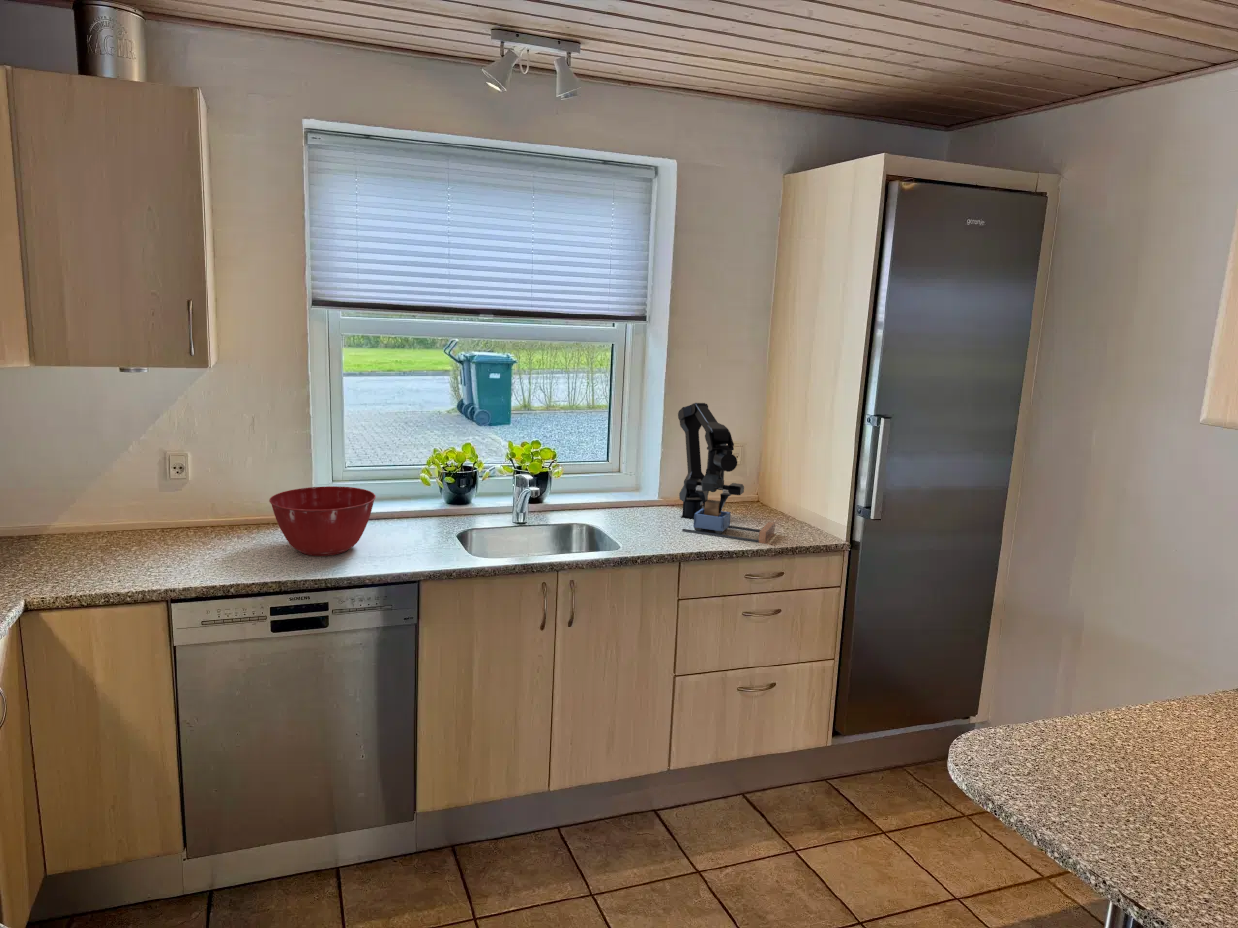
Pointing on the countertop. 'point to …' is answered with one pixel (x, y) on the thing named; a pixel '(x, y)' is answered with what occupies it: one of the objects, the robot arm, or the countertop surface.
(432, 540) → the countertop surface
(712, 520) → the box
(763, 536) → the track
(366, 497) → the mixing bowl
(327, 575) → the countertop surface
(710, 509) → the block
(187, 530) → the countertop surface
